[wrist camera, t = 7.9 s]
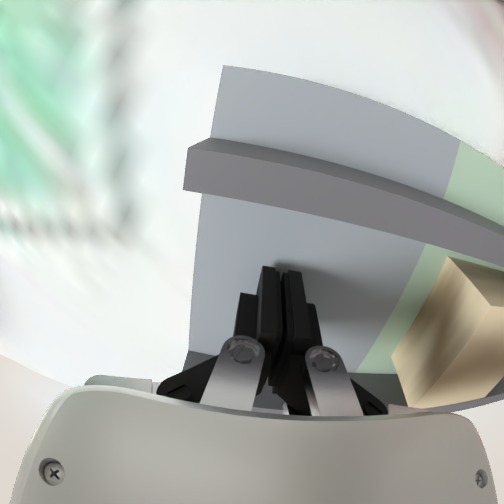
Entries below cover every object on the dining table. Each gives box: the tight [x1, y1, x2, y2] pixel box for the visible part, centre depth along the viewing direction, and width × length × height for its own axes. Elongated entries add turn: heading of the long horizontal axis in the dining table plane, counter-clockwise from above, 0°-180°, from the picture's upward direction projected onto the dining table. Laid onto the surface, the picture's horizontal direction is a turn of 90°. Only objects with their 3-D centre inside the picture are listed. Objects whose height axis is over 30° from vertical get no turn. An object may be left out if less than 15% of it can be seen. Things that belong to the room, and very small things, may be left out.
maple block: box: [391, 256, 504, 409], centre depth 11 cm, size 7×7×4 cm
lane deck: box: [182, 65, 504, 414], centre depth 14 cm, size 18×28×7 cm, turn 79°
